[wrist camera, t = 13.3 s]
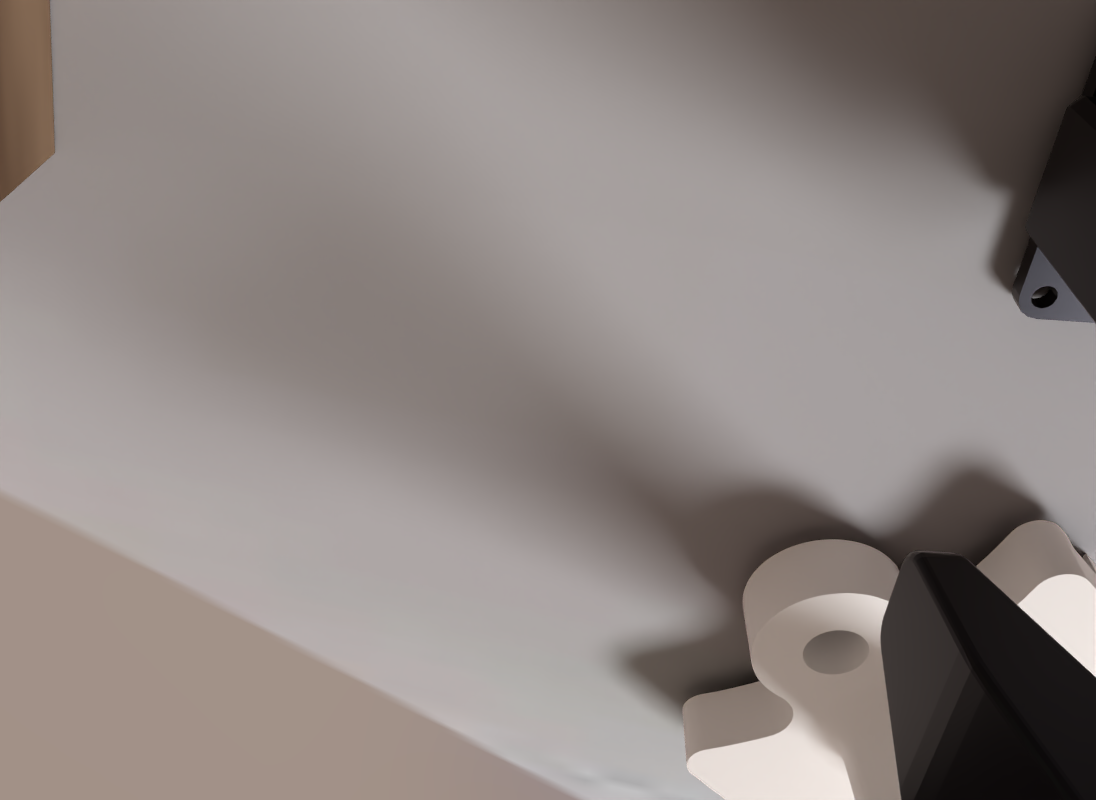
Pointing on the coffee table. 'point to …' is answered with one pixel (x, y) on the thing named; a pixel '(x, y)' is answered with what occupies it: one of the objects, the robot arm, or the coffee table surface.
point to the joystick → (852, 665)
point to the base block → (24, 90)
